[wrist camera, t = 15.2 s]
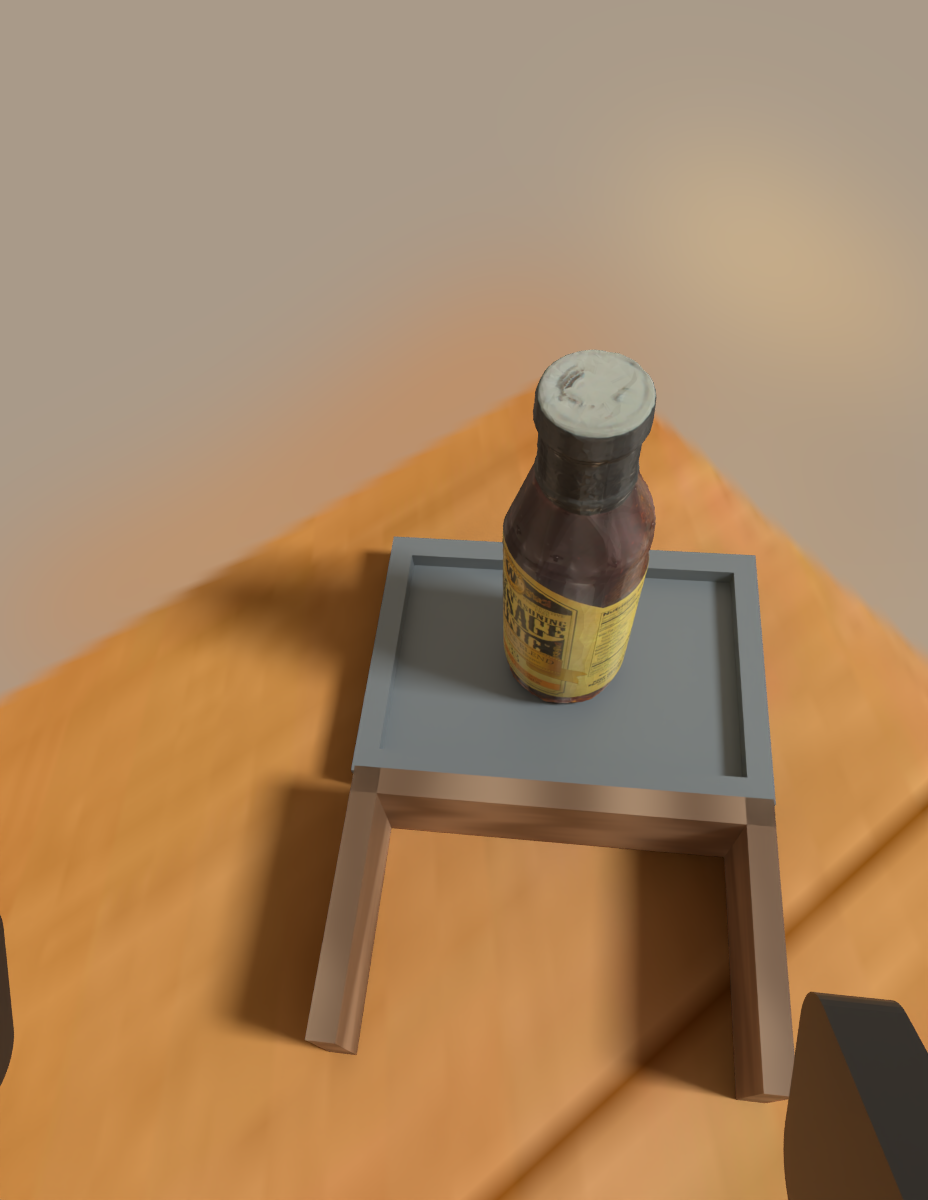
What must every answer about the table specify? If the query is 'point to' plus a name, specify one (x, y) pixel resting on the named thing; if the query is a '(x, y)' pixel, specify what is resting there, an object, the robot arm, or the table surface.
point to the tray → (582, 729)
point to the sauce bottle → (579, 528)
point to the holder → (574, 819)
